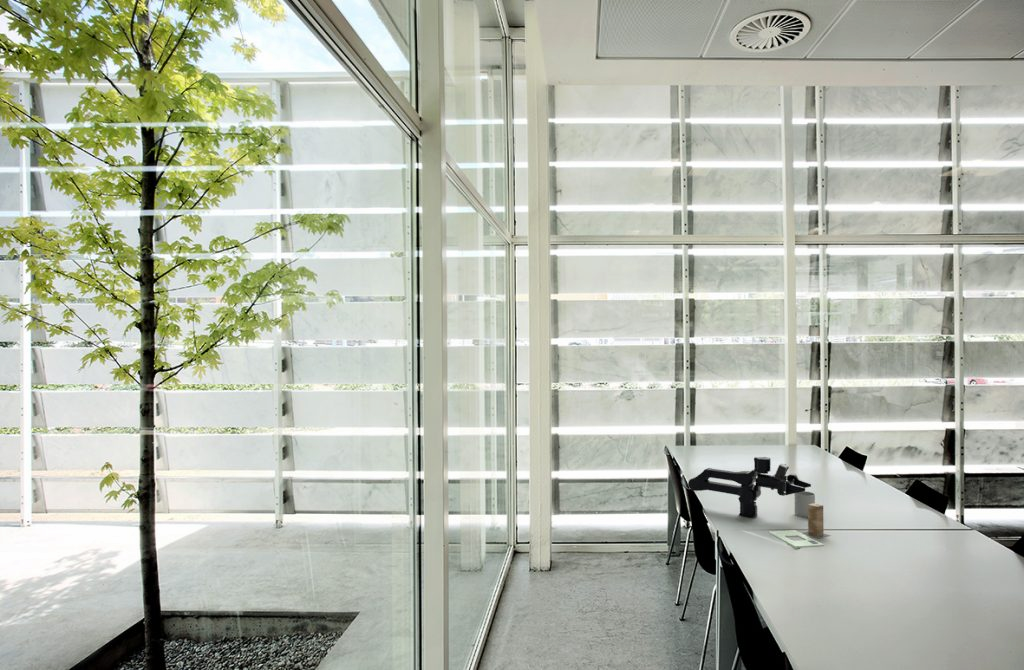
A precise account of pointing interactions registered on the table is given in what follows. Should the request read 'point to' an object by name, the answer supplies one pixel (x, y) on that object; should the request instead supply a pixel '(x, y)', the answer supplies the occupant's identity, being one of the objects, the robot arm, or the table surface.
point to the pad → (816, 536)
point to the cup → (803, 502)
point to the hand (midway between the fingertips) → (808, 487)
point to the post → (815, 519)
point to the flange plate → (795, 544)
